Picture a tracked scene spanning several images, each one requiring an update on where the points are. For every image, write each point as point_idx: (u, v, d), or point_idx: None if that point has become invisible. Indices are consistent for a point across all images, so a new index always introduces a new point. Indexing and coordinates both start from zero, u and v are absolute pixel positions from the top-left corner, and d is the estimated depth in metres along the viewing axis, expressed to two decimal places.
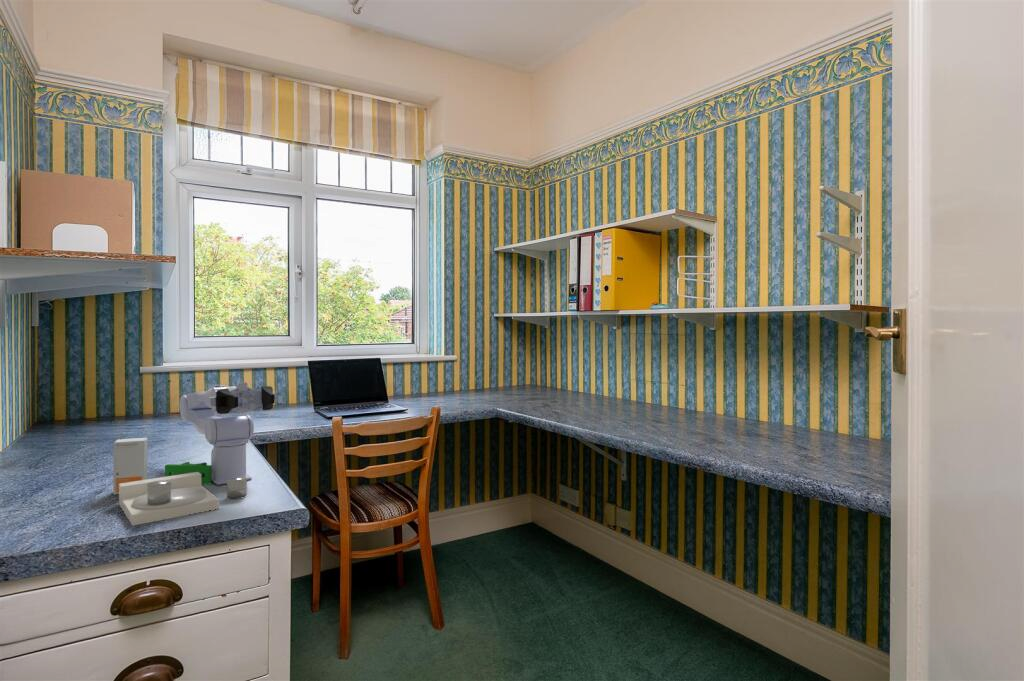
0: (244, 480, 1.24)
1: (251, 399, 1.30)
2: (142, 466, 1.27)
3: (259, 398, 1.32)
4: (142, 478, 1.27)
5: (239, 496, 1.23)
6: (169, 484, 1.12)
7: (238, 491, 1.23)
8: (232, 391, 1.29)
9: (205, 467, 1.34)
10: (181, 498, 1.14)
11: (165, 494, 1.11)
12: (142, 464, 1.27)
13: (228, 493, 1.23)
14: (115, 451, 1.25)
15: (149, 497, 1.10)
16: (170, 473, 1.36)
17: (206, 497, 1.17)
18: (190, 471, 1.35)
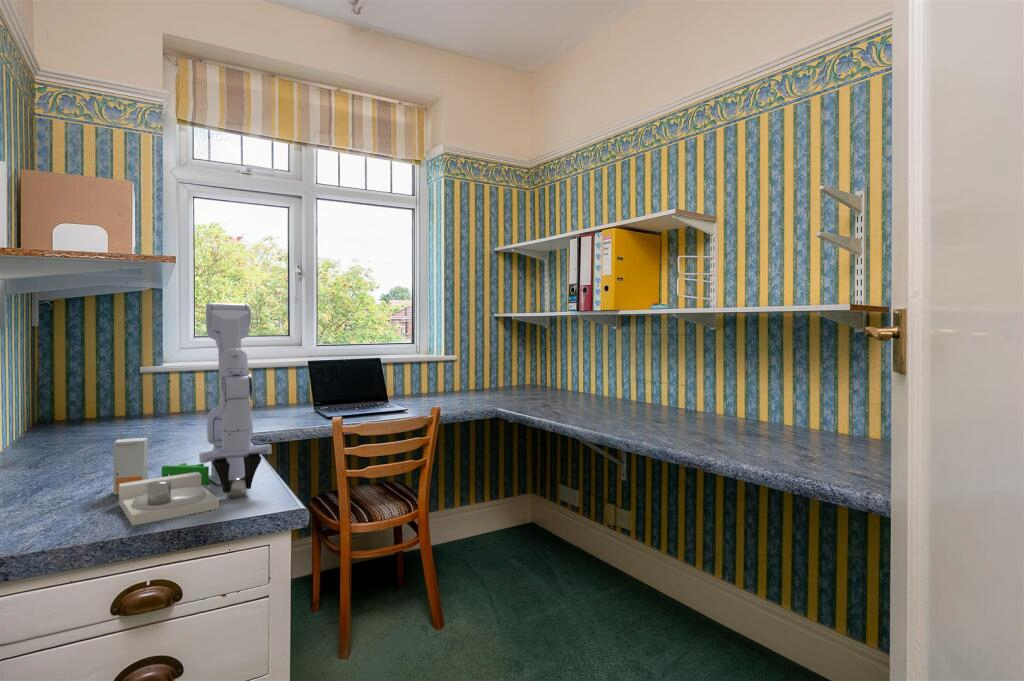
0: (244, 480, 1.24)
1: None
2: (142, 466, 1.27)
3: None
4: (142, 478, 1.27)
5: (239, 496, 1.23)
6: (169, 484, 1.12)
7: (238, 491, 1.23)
8: (228, 455, 1.21)
9: (202, 468, 1.33)
10: (181, 498, 1.14)
11: (165, 494, 1.11)
12: (142, 464, 1.27)
13: (228, 493, 1.23)
14: (115, 451, 1.25)
15: (149, 497, 1.10)
16: (167, 474, 1.35)
17: (206, 497, 1.17)
18: (187, 472, 1.34)
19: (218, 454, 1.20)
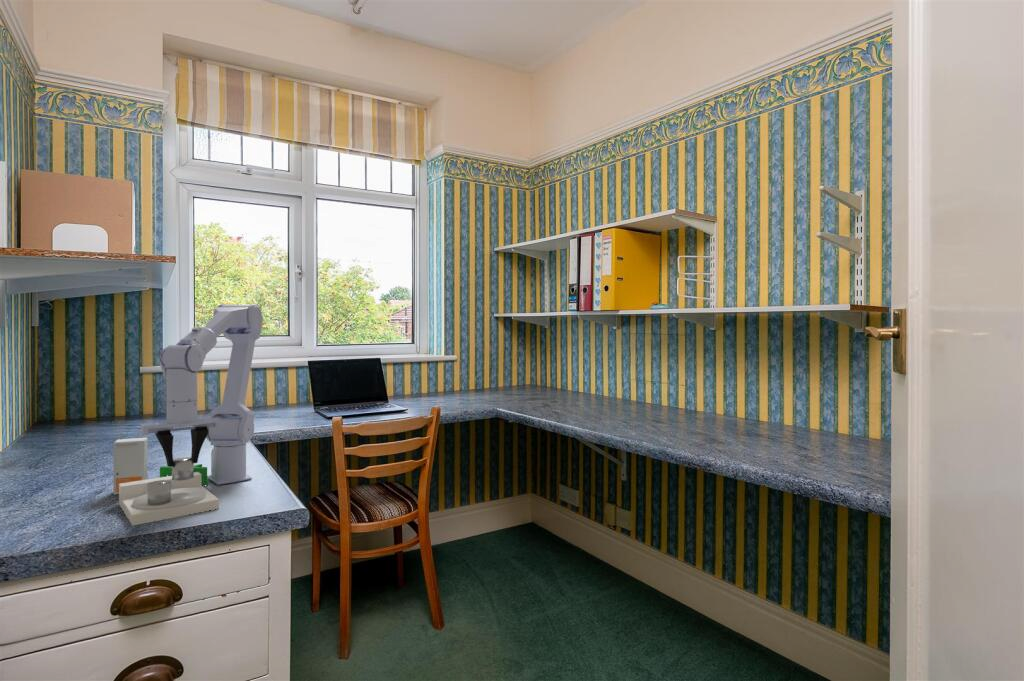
0: (191, 461, 1.19)
1: None
2: (142, 466, 1.27)
3: None
4: (142, 478, 1.27)
5: (185, 477, 1.18)
6: (169, 484, 1.12)
7: (183, 472, 1.18)
8: None
9: (200, 469, 1.33)
10: (181, 498, 1.14)
11: (165, 494, 1.11)
12: (142, 464, 1.27)
13: (173, 474, 1.18)
14: (115, 451, 1.25)
15: (149, 497, 1.10)
16: (165, 475, 1.34)
17: (206, 497, 1.17)
18: None
19: (161, 425, 1.15)
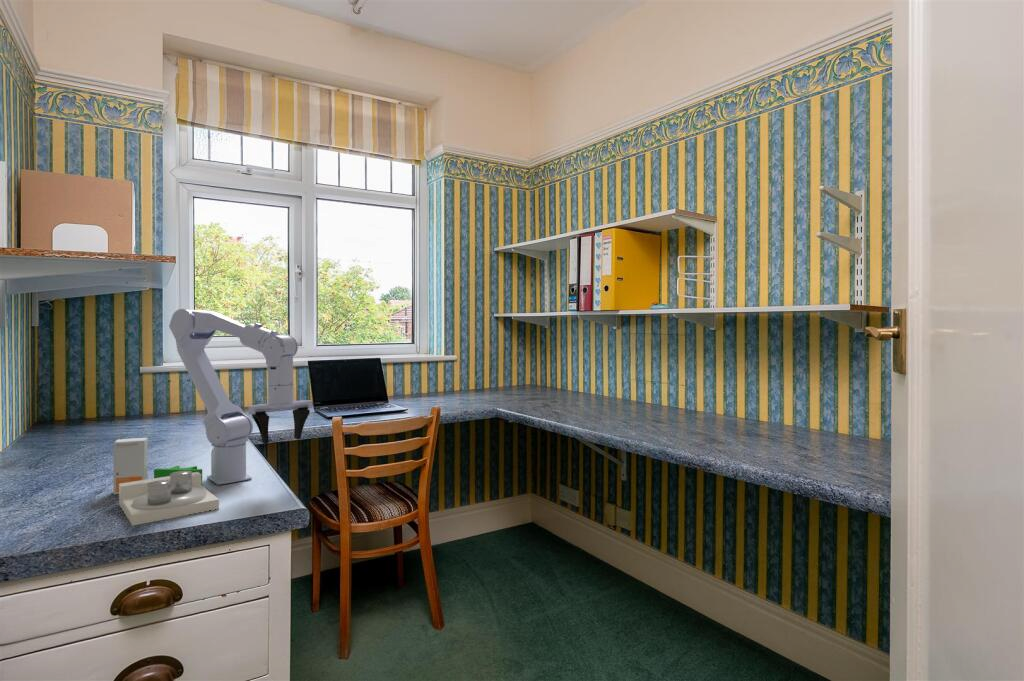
0: (189, 474, 1.19)
1: None
2: (142, 466, 1.27)
3: None
4: (142, 478, 1.27)
5: (183, 491, 1.18)
6: (169, 484, 1.12)
7: (182, 485, 1.18)
8: (274, 408, 1.32)
9: (195, 471, 1.31)
10: (181, 498, 1.14)
11: (165, 494, 1.11)
12: (142, 464, 1.27)
13: (171, 488, 1.17)
14: (115, 451, 1.25)
15: (149, 497, 1.10)
16: (159, 477, 1.32)
17: (206, 497, 1.17)
18: None
19: (265, 406, 1.31)
